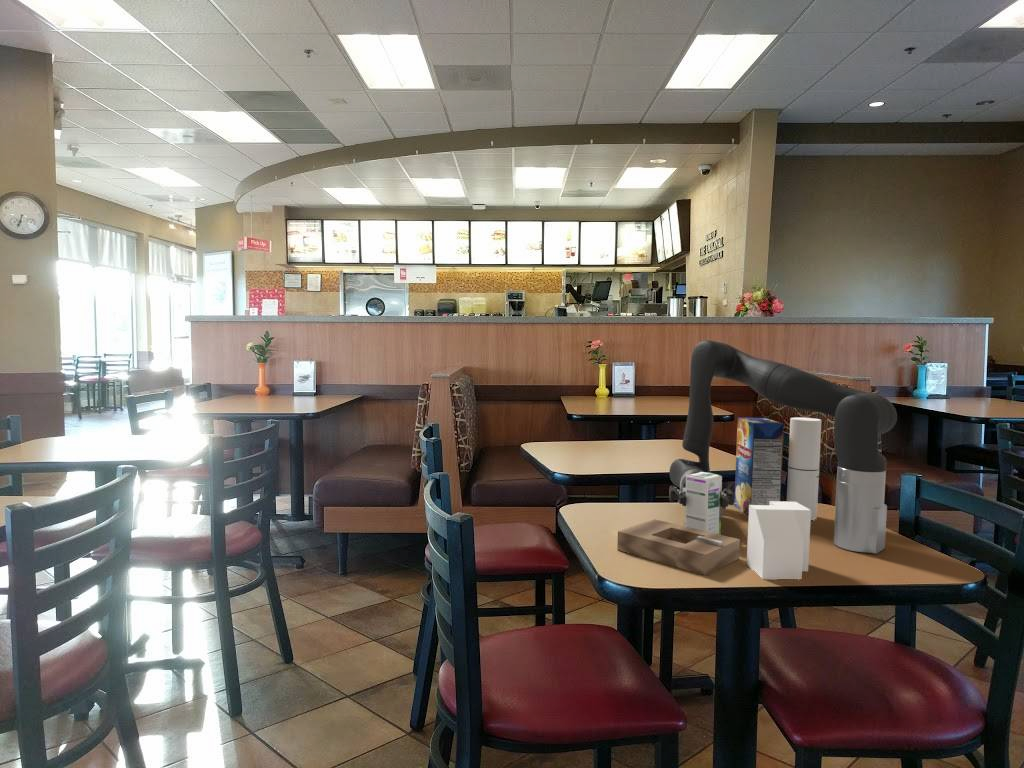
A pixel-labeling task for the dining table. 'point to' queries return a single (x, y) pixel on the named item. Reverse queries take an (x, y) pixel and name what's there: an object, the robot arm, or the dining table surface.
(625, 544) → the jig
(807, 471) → the cylindrical container
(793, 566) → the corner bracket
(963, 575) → the dining table surface
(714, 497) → the syrup box
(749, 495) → the juice carton
